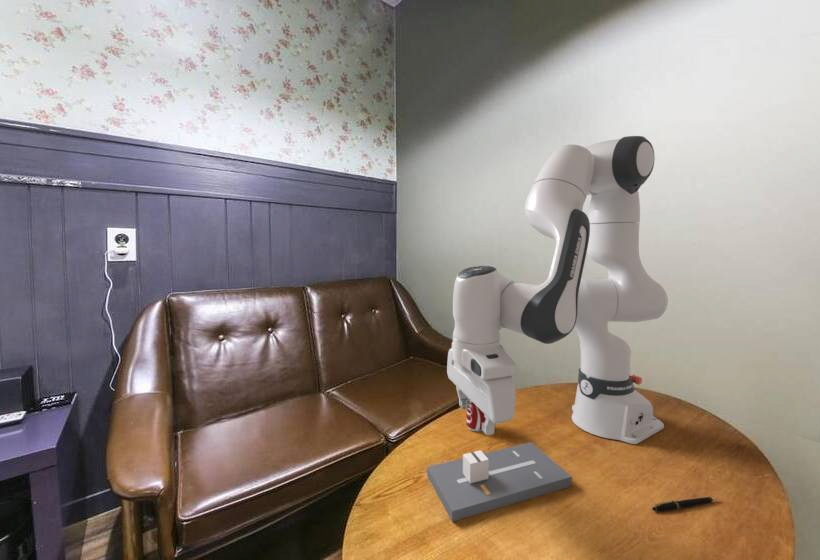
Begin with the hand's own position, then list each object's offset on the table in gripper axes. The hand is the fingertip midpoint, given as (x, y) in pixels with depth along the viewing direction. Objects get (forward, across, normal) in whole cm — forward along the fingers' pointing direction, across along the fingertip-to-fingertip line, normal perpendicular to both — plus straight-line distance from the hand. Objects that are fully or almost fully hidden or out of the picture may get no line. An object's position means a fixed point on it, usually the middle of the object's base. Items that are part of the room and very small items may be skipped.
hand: (475, 419), depth 63 cm
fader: (+11, +1, 0) cm, 11 cm away
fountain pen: (+14, +17, +34) cm, 40 cm away
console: (+14, +1, +4) cm, 14 cm away
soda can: (+15, -18, +10) cm, 25 cm away
